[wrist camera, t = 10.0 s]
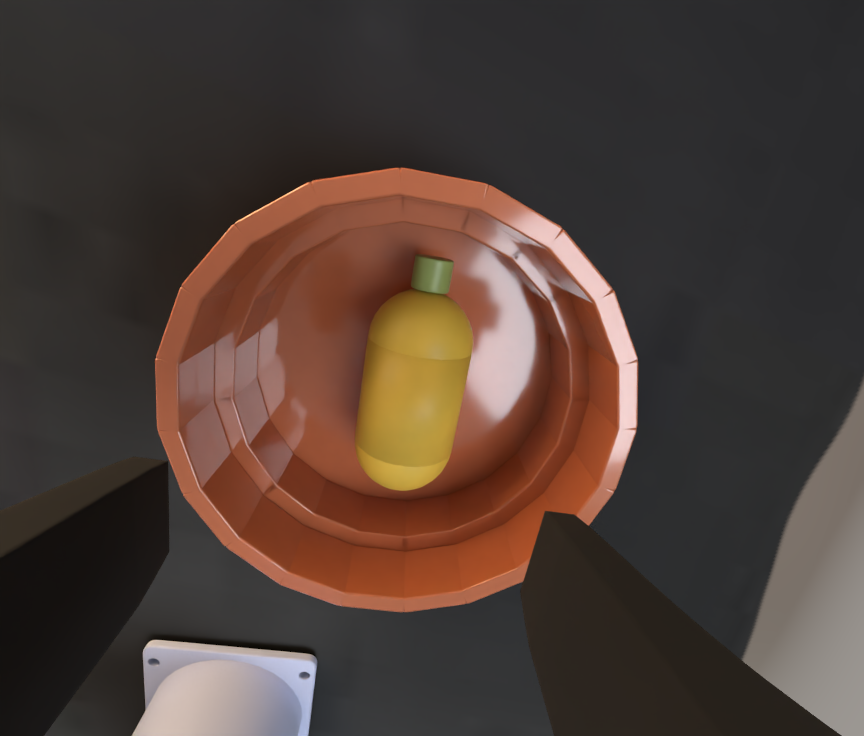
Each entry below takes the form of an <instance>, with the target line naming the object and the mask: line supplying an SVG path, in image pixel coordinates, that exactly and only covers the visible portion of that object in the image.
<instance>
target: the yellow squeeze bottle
mask: <svg viewBox="0 0 864 736" xmlns="http://www.w3.org/2000/svg"><path fill="white" fill-rule="evenodd" d="M453 266H454V261H452V260H450V259H447V258H442V257H438V256H432V255H425V254H416V256H415V261H414V267H413V274H412V280H411V287H413V288H414V289H410V290H407V291H404V292H401V293H398V294H396V295H395V296H393V297H391V298H390V299H389V300H387V301H386V302H385V303H384V304H383V305H382V306H381V307H380V308H379V310H378V311H377V312H376V314H375V315H374V318H373V320H372V322H371V325H370V329H369V333H368V339H367V346H366V354H365V362H364V369H363V377H362V385H361V392H360V400H359V408H358V416H357V423H356V431H355V450H356V454H357V459H358V461H359V463H360V465H361V467H362V468H363V470H364V471H365V473H366V474H367V475H368V476H369V477H370V478H371V479H372V480H373V481H375V482H376V483H378V484H380V485H382V486H384V487H386V488H389V489H392V490H399V491H407V490H413V489H417V488H420V487H423V486H425V485H426V484H428V483H430V482H432V481H433V480H434V479H435V478H436V477H437V476H438V475H439V474H440V473H441V472H442V471H443V469H444V467H445V466H446V464H447V462H448V461H449V458H450V455H451V451H452V446H453V442H454V437H455V432H456V427H457V423H458V418H459V413H460V408H461V404H462V399H463V394H464V389H465V385H466V380H467V375H468V370H469V366H470V361H471V356H472V349H473V333H472V328H471V325H470V322H469V320H468V318H467V316H466V314H465V312H464V311H463V310H462V309H461V307H460V306H459V305H458V304H457V303H456V302H455V301H454V300H452V299H451V298H450V297H448V296H446V295H444V294H446V293H448V292H449V288H450V282H451V277H452V272H453Z"/></svg>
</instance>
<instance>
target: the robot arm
mask: <svg viewBox="0 0 864 736" xmlns="http://www.w3.org/2000/svg"><path fill="white" fill-rule="evenodd" d="M168 553H169V494H168V461H162V460H155V459H147V458H139V457H131V458H128V459H126V460H123V461H120V462H117V463H114V464H112V465H109V466H107V467H104V468H102V469H99V470H97V471H94V472H92V473H89V474H87V475H85V476H82V477H80V478H77V479H75V480H73V481H70V482H68V483H66V484H63V485H61V486H58V487H56V488H54V489H51V490H49V491H47V492H44V493H42V494H39V495H37V496H35V497H32V498H30V499H27V500H25V501H23V502H20V503H18V504H15V505H13V506H11V507H8V508H6V509H3V510H1V511H0V736H44V735H45V733H46V732H47V731H48V729H49V728H50V727H51V725H52V724H53V722H54V721H55V720H56V718H57V717H58V716H59V714H60V713H61V712H62V710H63V709H64V707H65V706H66V705H67V703H68V702H69V701H70V699H71V698H72V697H73V695H74V694H75V692H76V691H77V690H78V688H79V687H80V686H81V684H82V683H83V682H84V680H85V679H86V678H87V676H88V675H89V673H90V672H91V671H92V669H93V668H94V667H95V665H96V664H97V663H98V661H99V660H100V658H101V657H102V656H103V654H104V653H105V652H106V650H107V649H108V647H109V646H110V645H111V643H112V642H113V641H114V639H115V638H116V636H117V635H118V634H119V632H120V631H121V630H122V628H123V627H124V625H125V624H126V623H127V621H128V620H129V618H130V617H131V616H132V614H133V613H134V611H135V610H136V609H137V607H138V606H139V604H140V602H141V601H142V599H143V597H144V595H145V594H146V592H147V590H148V589H149V587H150V585H151V584H152V582H153V580H154V578H155V576H156V575H157V573H158V571H159V569H160V567H161V566H162V564H163V562H164V560H165V558H166V556H167V555H168ZM520 593H521V599H522V606H523V613H524V620H525V625H526V631H527V637H528V643H529V647H530V651H531V655H532V659H533V662H534V666H535V669H536V673H537V677H538V680H539V684H540V687H541V691H542V694H543V698H544V701H545V705H546V708H547V712H548V715H549V719H550V722H551V726H552V729H553V733H554V736H841V735H840V734H838V733H837V732H836V731H834V730H833V729H831V728H830V727H829V726H827V725H826V724H824V723H823V722H822V721H820V720H819V719H818V718H816V717H815V716H814V715H812V714H811V713H810V712H808V711H807V710H805V709H804V708H803V707H802V706H800V705H799V704H798V703H796V702H795V701H794V700H792V699H791V698H790V697H788V696H787V695H786V694H784V693H783V692H782V691H780V690H779V689H777V688H776V687H775V686H774V685H772V684H771V683H770V682H768V681H767V680H766V679H764V678H763V677H762V676H760V675H759V674H758V673H757V672H755V671H754V670H753V669H752V668H750V667H749V666H748V665H747V664H745V663H744V662H743V661H742V660H740V659H739V658H738V657H737V656H735V655H734V654H733V653H732V652H731V651H729V650H728V649H727V648H726V647H725V646H723V645H722V644H721V643H720V642H719V641H717V640H716V639H715V638H714V637H713V636H711V635H710V634H709V633H708V632H707V631H705V630H704V629H703V628H702V627H701V626H699V625H698V624H697V623H696V622H695V621H693V620H692V619H691V618H690V617H689V616H688V615H687V614H685V613H684V612H683V611H682V610H681V609H680V608H678V607H677V606H676V605H675V604H674V603H673V602H672V601H670V600H669V599H668V598H667V597H666V596H665V595H664V594H663V593H661V592H660V591H659V590H658V589H657V588H656V587H655V586H654V585H653V584H652V583H650V582H649V581H648V580H647V579H646V578H645V577H644V576H643V575H642V574H641V573H639V572H638V571H637V570H636V569H635V568H634V567H633V566H632V565H631V564H630V563H629V562H627V561H626V560H625V559H624V558H623V557H622V556H621V555H620V554H619V553H618V552H617V551H616V550H614V549H613V548H612V547H611V546H610V545H609V544H608V543H607V542H606V541H605V540H604V539H602V538H601V537H600V536H599V535H598V534H597V533H596V532H595V531H594V530H592V529H591V528H590V527H589V526H588V525H587V524H586V523H584V522H583V521H582V520H581V519H580V518H578V517H577V516H576V515H574V514H567V513H559V512H552V511H545V512H544V515H543V519H542V522H541V525H540V529H539V532H538V535H537V538H536V542H535V545H534V548H533V551H532V555H531V558H530V561H529V564H528V568H527V571H526V574H525V577H524V581H523V584H522V587H521V591H520ZM143 667H144V687H145V706H146V711H145V713H144V714H143V716H142V718H141V720H140V722H139V723H138V725H137V727H136V729H135V731H134V733H133V734H132V736H308V734H309V726H310V718H311V710H312V702H313V693H314V685H315V677H316V669H317V659H316V658H315V656H313V655H312V654H307V653H296V652H285V651H274V650H263V649H253V648H242V647H231V646H220V645H209V644H199V643H188V642H177V641H166V640H152V641H149V643H148V644H147V645H146V647H145V648H144V650H143Z"/></svg>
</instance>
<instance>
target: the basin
mask: <svg viewBox="0 0 864 736" xmlns="http://www.w3.org/2000/svg"><path fill="white" fill-rule="evenodd" d="M416 254H425V255H432V256H438V257H442V258H447V259H450V260H452V261H454V266H453V272H452V277H451V282H450V288H449V292H448V293H446V294H444V295H446V296H448V297H450V298H451V299H452V300H454V301H455V302H456V303H457V304H458V305H459V306H460V307H461V309H462V310H463V311H464V312H465V314H466V316H467V318H468V320H469V322H470V325H471V328H472V333H473V349H472V356H471V361H470V366H469V370H468V375H467V380H466V385H465V389H464V394H463V399H462V404H461V408H460V413H459V418H458V423H457V427H456V432H455V437H454V442H453V446H452V451H451V455H450V458H449V461H448V462H447V464H446V466H445V467H444V469H443V471H442V472H441V473H440V474H439V475H438V476H437V477H436V478H435V479H434V480H433V481H432V482H430V483H428V484H426V485H425V486H423V487H420V488H417V489H413V490H407V491H399V490H392V489H389V488H386V487H384V486H382V485H380V484H378V483H376V482H375V481H373V480H372V479H371V478H370V477H369V476H368V475H367V474H366V473H365V471H364V470H363V468H362V467H361V465H360V463H359V461H358V459H357V454H356V450H355V431H356V423H357V416H358V408H359V400H360V392H361V385H362V377H363V369H364V362H365V354H366V346H367V339H368V333H369V329H370V325H371V322H372V320H373V318H374V315H375V314H376V312H377V311H378V310H379V308H380V307H381V306H382V305H383V304H384V303H385V302H386V301H387V300H389V299H390V298H391V297H393V296H395V295H396V294H398V293H401V292H404V291H407V290H410V289H414V288H413V287H411V280H412V274H413V267H414V261H415V256H416ZM181 286H182V287H180V289H179V292H178V295H177V298H176V301H175V303H174V306H173V309H172V312H171V315H170V318H169V321H168V324H167V326H166V329H165V332H164V335H163V338H162V341H161V344H160V347H159V349H158V352H157V355H156V359H155V374H156V407H157V430H159V435H160V438H161V440H162V443H163V445H164V448H165V451H166V453H167V456H168V458H169V461H170V463H171V466H172V468H173V471H174V474H175V476H176V479H177V481H178V484H179V486H180V489H181V492H182V493H183V495H184V497H185V498H186V500H187V501H188V502H189V503H190V505H191V506H192V507H193V508H194V509H195V511H196V512H197V513H198V514H199V516H200V517H201V518H202V519H203V520H204V522H205V523H206V524H207V525H208V527H209V528H210V529H211V530H212V532H213V533H214V534H215V535H216V536H217V538H218V539H219V540H220V541H221V543H222V544H223V545H224V546H226V547H227V548H228V549H229V550H231V551H232V552H234V553H235V554H236V555H238V556H239V557H241V558H242V559H244V560H245V561H247V562H248V563H249V564H251V565H252V566H254V567H255V568H257V569H258V570H260V571H261V572H262V573H264V574H265V575H267V576H268V577H270V578H271V579H273V580H274V581H275V582H277V583H280V585H282V586H285V587H288V588H290V589H293V590H296V591H299V592H301V593H304V594H307V595H310V596H312V597H315V598H318V599H321V600H323V601H326V602H329V603H332V604H335V605H337V606H340V605H341V606H344V607H353V608H363V609H373V610H383V611H392V612H412V611H420V610H427V609H434V608H441V607H448V606H456V605H463V604H466V603H467V604H469V603H471V602H474V601H476V600H479V599H481V598H484V597H486V596H489V595H491V594H493V593H496V592H498V591H501V590H503V589H506V588H508V587H511V586H513V585H516V584H518V583H521V582H523V581H524V577H525V574H526V571H527V568H528V564H529V561H530V558H531V555H532V551H533V548H534V545H535V542H536V538H537V535H538V532H539V529H540V525H541V522H542V519H543V515H544V512H545V511H552V512H559V513H567V514H574V515H576V516H577V517H578V518H580V519H581V520H582V521H583V522H584V523H586V524H587V525H588V526H589V525H590V524H591V522H592V521H593V520H594V518H595V517H596V516H597V514H598V513H599V512H600V510H601V509H602V508H603V507H604V505H605V504H606V503H607V501H608V500H609V499H610V497H611V496H612V495H613V493H614V490H616V488H617V485H618V482H619V479H620V476H621V474H622V471H623V468H624V465H625V462H626V460H627V457H628V454H629V451H630V448H631V446H632V443H633V440H634V437H635V434H636V432H637V429H636V428H637V420H638V361H637V360H638V357H637V354H636V351H635V348H634V345H633V342H632V340H631V337H630V334H629V331H628V328H627V325H626V322H625V320H624V317H623V314H622V311H621V308H620V305H619V302H618V300H617V297H616V294H615V291H614V290H613V289H612V287H611V285H610V284H609V283H608V282H607V281H606V279H605V278H604V277H603V276H602V275H601V273H600V272H599V271H598V270H597V268H596V267H595V266H594V265H593V264H592V262H591V261H590V260H589V259H588V258H587V256H586V255H585V254H584V253H583V251H582V250H581V249H580V248H579V247H578V245H577V244H576V243H575V242H574V241H573V239H572V238H571V237H570V236H569V234H568V233H567V232H566V231H565V230H564V229H562V227H561V226H559V225H558V224H556V223H554V222H553V221H551V220H549V219H548V218H546V217H544V216H543V215H541V214H539V213H537V212H536V211H534V210H532V209H531V208H529V207H527V206H526V205H524V204H522V203H520V202H519V201H517V200H515V199H514V198H512V197H510V196H509V195H507V194H505V193H504V192H502V191H500V190H498V189H497V188H495V187H493V186H492V185H488V184H487V183H482V182H477V181H471V180H466V179H461V178H456V177H451V176H445V175H440V174H435V173H430V172H425V171H419V170H414V169H409V168H404V167H402V168H398V167H396V168H390V169H383V170H377V171H370V172H364V173H357V174H351V175H344V176H338V177H331V178H325V179H318V180H313V181H312V182H307V183H305V184H303V185H302V186H300V187H298V188H296V189H294V190H293V191H291V192H289V193H287V194H285V195H283V196H282V197H280V198H278V199H276V200H274V201H273V202H271V203H269V204H267V205H265V206H263V207H262V208H260V209H258V210H256V211H254V212H253V213H251V214H249V215H247V216H245V217H243V218H242V219H240V220H238V221H236V222H235V224H233V225H232V226H231V227H230V228H229V229H228V230H227V231H226V233H225V234H224V235H223V236H222V237H221V238H220V240H219V241H218V242H217V243H216V244H215V246H214V247H213V248H212V249H211V250H210V251H209V253H208V254H207V255H206V256H205V257H204V258H203V260H202V261H201V262H200V263H199V264H198V265H197V267H196V268H195V269H194V270H193V271H192V273H191V274H190V275H189V276H188V277H187V278H186V280H185V281H184V282H183V283H182V285H181Z"/></svg>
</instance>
